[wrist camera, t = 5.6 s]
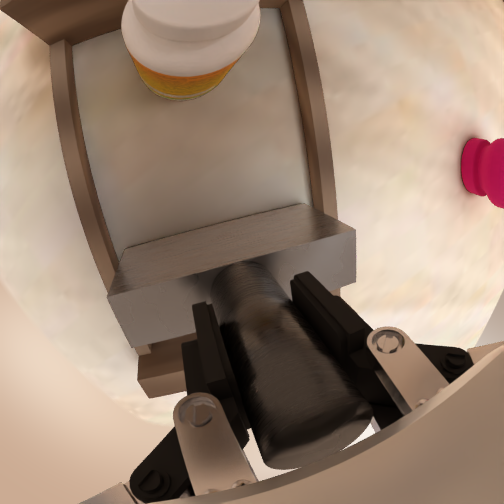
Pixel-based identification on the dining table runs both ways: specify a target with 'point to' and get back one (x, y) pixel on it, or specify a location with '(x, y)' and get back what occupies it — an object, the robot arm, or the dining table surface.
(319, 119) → the vise frame
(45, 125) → the dining table surface
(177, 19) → the supplement bottle
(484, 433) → the robot arm
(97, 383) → the dining table surface
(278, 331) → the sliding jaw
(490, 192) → the pepper mill
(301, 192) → the dining table surface
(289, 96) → the dining table surface
